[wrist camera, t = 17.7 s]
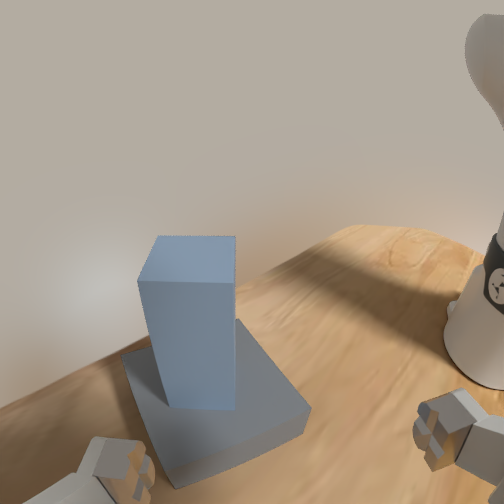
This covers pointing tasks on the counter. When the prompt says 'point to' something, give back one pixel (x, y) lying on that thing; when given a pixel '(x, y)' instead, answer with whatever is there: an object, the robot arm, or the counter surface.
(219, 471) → the charcoal block
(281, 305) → the counter surface
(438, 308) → the counter surface
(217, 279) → the slate-blue block
